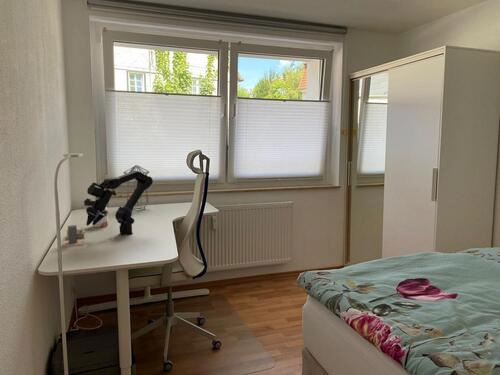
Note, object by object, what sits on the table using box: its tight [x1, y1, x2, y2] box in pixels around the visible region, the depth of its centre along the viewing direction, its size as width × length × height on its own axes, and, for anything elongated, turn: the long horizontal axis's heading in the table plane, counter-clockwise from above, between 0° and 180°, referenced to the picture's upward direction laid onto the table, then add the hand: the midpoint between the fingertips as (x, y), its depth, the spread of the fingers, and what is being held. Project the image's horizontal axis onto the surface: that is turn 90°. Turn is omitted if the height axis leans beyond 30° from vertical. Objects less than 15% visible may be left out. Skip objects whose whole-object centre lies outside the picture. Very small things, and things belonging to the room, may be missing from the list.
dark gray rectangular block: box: [66, 224, 78, 244], centre depth 198 cm, size 5×4×9 cm
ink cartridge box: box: [92, 206, 109, 228], centre depth 237 cm, size 9×5×15 cm, turn 105°
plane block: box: [67, 226, 85, 241], centre depth 212 cm, size 8×11×4 cm
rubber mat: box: [61, 238, 85, 248], centre depth 199 cm, size 10×10×1 cm
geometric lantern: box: [123, 165, 150, 212], centre depth 289 cm, size 16×16×35 cm
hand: (90, 225), depth 204 cm, fingers open, 9 cm apart
